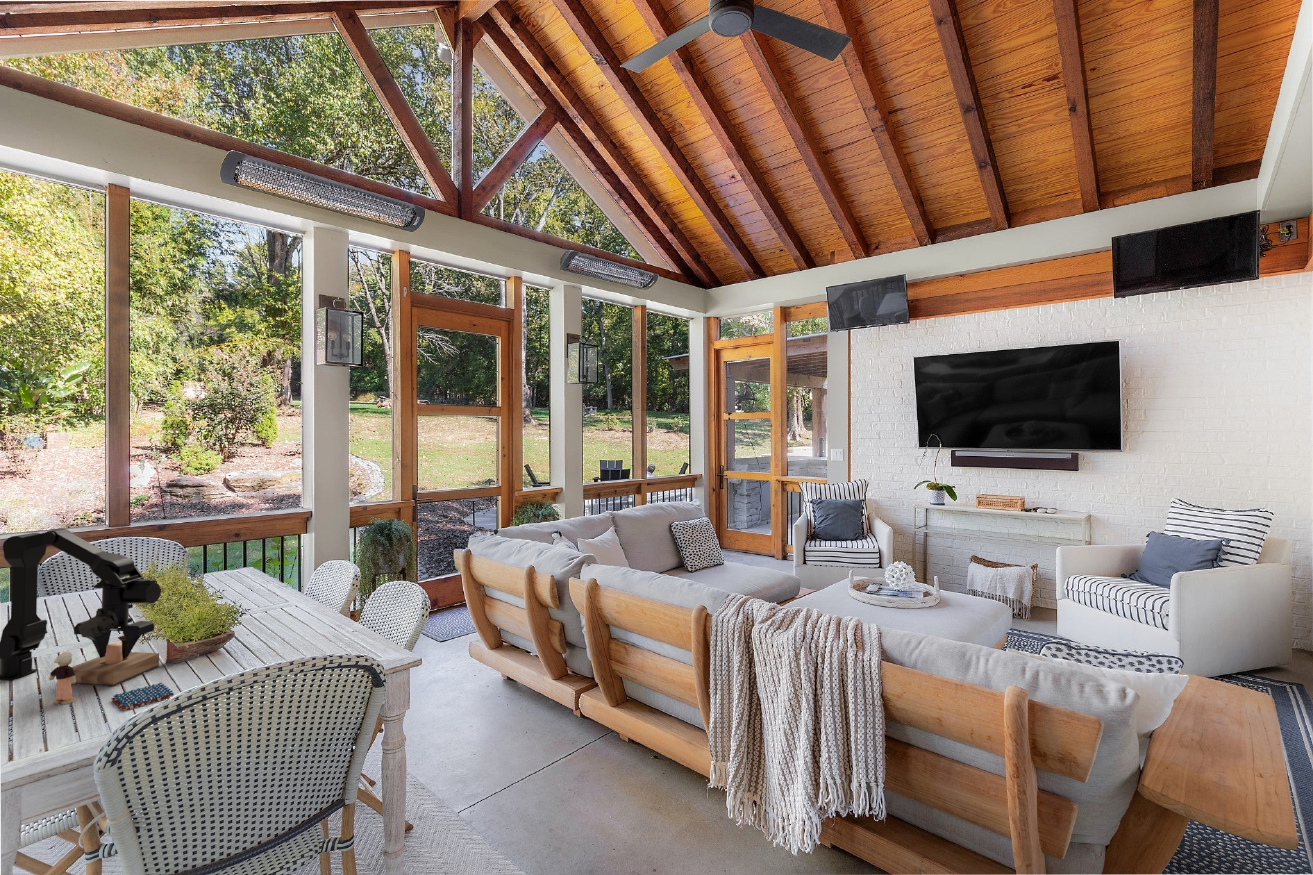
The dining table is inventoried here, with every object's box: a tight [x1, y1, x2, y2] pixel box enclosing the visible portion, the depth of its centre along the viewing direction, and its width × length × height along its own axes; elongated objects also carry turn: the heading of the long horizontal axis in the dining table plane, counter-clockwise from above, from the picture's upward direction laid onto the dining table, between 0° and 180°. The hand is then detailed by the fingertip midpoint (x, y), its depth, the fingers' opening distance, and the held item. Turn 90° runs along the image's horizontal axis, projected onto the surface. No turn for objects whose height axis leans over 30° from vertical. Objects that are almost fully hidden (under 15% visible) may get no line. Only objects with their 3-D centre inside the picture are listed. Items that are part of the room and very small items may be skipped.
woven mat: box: [110, 682, 175, 712], centre depth 153 cm, size 10×11×2 cm
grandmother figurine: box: [48, 651, 77, 705], centre depth 151 cm, size 8×4×13 cm, turn 92°
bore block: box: [71, 651, 160, 688], centre depth 167 cm, size 14×14×4 cm
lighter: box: [165, 637, 200, 665], centre depth 180 cm, size 8×3×10 cm, turn 141°
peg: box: [105, 642, 123, 665], centre depth 167 cm, size 4×4×8 cm
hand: (113, 657), depth 167 cm, fingers open, 6 cm apart
